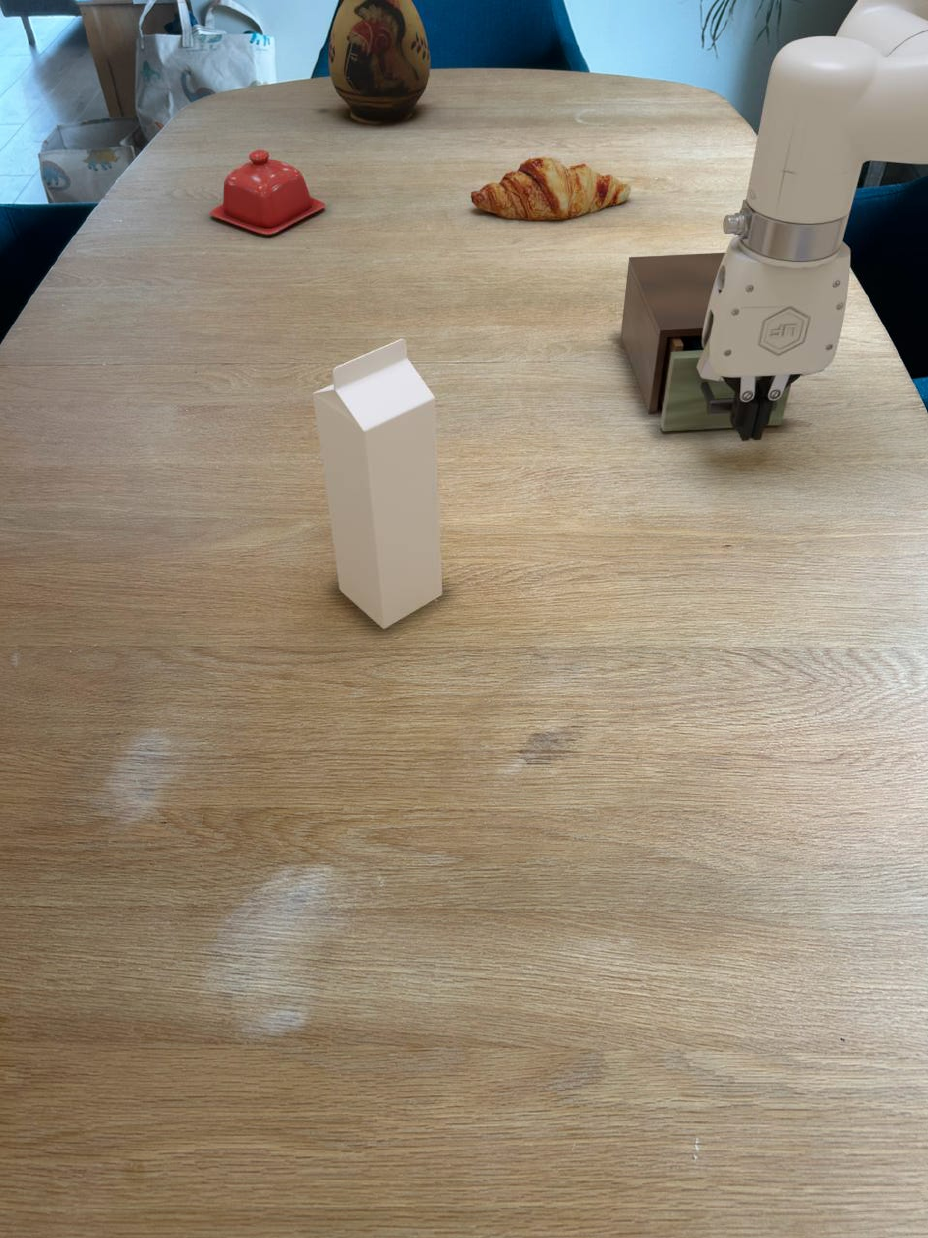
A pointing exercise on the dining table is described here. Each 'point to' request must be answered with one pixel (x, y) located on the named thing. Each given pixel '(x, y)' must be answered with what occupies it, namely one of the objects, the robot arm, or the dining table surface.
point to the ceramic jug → (379, 59)
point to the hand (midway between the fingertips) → (746, 431)
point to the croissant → (550, 191)
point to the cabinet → (663, 311)
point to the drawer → (698, 392)
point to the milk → (382, 482)
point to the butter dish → (265, 196)
